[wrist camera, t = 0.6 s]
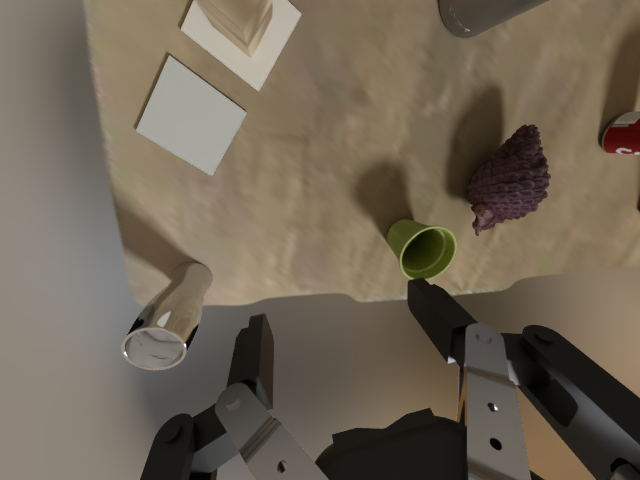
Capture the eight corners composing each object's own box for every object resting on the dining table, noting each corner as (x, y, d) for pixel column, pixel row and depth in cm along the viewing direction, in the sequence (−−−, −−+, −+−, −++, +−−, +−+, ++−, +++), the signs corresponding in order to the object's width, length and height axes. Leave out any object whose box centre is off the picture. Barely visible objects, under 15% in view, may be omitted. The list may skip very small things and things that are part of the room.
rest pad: (170, 55, 28) (169, 55, 28) (247, 112, 32) (247, 112, 32) (137, 131, 31) (135, 131, 30) (212, 175, 34) (211, 176, 34)
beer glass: (189, 300, 42) (150, 380, 29) (161, 271, 39) (102, 345, 25) (224, 283, 42) (201, 354, 28) (198, 252, 39) (159, 316, 25)
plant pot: (369, 227, 43) (391, 248, 35) (416, 199, 42) (448, 215, 34) (388, 264, 47) (411, 291, 39) (430, 240, 46) (462, 261, 38)
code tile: (223, -63, 25) (222, -66, 25) (301, 15, 29) (301, 14, 29) (181, 31, 28) (180, 29, 27) (258, 92, 31) (258, 91, 31)
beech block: (233, -20, 26) (215, -87, 18) (272, 17, 28) (272, -28, 20) (211, 25, 28) (186, -19, 19) (251, 58, 29) (243, 30, 21)
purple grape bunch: (480, 120, 38) (544, 116, 29) (528, 131, 41) (600, 131, 32) (441, 223, 45) (483, 245, 36) (483, 228, 47) (533, 250, 38)
